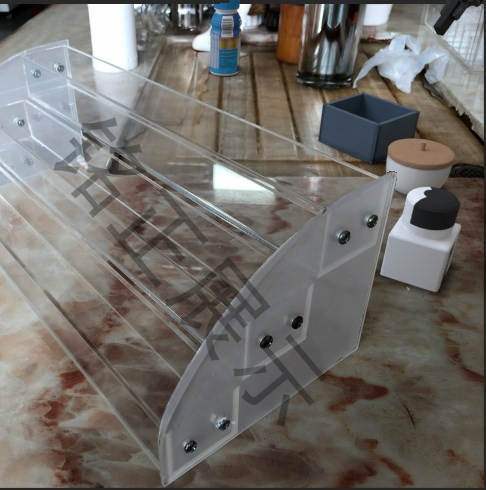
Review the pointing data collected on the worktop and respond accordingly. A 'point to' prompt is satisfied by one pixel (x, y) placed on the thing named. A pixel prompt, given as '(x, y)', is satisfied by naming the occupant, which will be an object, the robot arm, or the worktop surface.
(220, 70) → the beverage bottle
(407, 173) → the trinket box
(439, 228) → the container
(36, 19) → the worktop surface
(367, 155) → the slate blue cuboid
